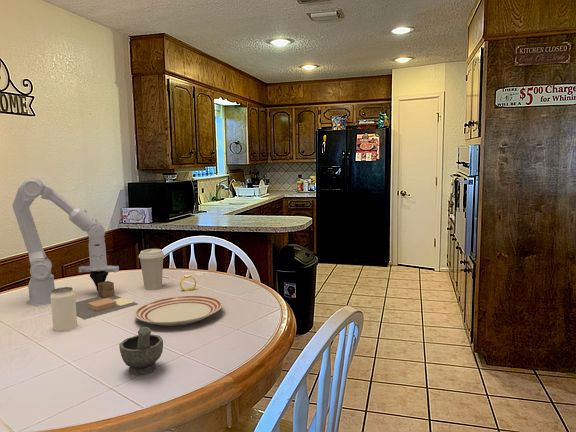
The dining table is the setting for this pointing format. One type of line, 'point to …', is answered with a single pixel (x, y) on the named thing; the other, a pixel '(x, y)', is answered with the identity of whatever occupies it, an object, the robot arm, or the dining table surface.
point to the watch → (187, 277)
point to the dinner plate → (178, 310)
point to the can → (63, 309)
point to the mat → (88, 313)
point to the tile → (102, 304)
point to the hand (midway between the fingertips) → (100, 290)
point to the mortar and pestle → (141, 352)
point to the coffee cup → (152, 268)
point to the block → (106, 289)
